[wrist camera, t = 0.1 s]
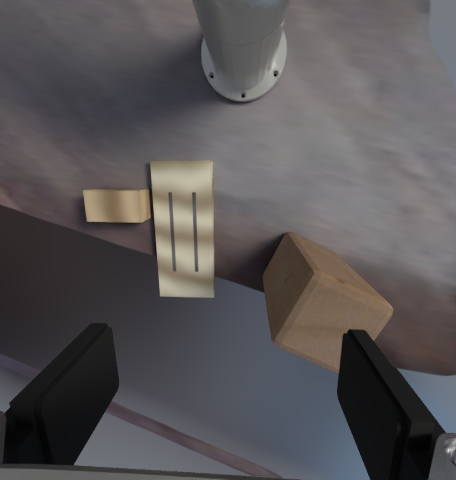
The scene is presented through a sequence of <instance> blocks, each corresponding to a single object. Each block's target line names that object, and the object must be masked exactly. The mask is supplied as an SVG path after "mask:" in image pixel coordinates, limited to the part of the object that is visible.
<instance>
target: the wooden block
mask: <svg viewBox="0 0 456 480" xmlns="http://www.w3.org/2000/svg"><path fill="white" fill-rule="evenodd" d="M263 285H264V292H265V299H266V306H267V312H268V319H269V326H270V333H271V339H272V341H273V343H274V344H276V345H277V346H278V347H280V348H282V349H285V350H287V351H289V352H291V353H293V354H296V355H298V356H300V357H302V358H304V359H307V360H309V361H311V362H313V363H315V364H318V365H320V366H322V367H324V368H327V369H329V370H331V371H333V372H335V373H338V374H339V367H340V357H341V347H342V337H343V334H344V333H347V332H348V330H349V329H360V330H365V331H366V332H367V333H368V334H369V336H370V337H371V338H372V340H373V341H374V340H375V338H376V337H377V336H378V334H379V333H380V331H381V330H382V329H383V327H384V326H385V324H386V323H387V322H388V320H389V319H390V318H391V316H392V312H393V309H392V307H391V305H390V304H389V303H388V302H387V301H386V300H385V299H384V298H383V297H382V296H380V295H379V294H378V293H377V292H376V291H375V290H374V289H373V288H372V287H371V286H370V285H369V284H368V283H366V282H365V281H364V280H363V279H362V278H361V277H360V276H359V275H358V274H357V273H356V272H355V271H354V270H352V269H351V268H350V267H349V266H348V265H347V264H346V263H345V262H344V261H343V260H342V259H341V258H340V257H338V256H337V255H336V254H335V253H334V252H332V251H330V250H328V249H326V248H324V247H322V246H319V245H317V244H315V243H313V242H311V241H309V240H307V239H305V238H303V237H301V236H298V235H296V234H294V233H291V232H287V233H286V234H285V235H284V236H283V238H282V240H281V242H280V244H279V246H278V248H277V249H276V251H275V253H274V255H273V257H272V259H271V260H270V262H269V264H268V266H267V268H266V270H265V272H264V273H263Z"/></svg>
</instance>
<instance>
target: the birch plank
mask: <svg viewBox="0 0 456 480" xmlns="http://www.w3.org/2000/svg"><path fill="white" fill-rule="evenodd" d="M150 166H151V179H152V193H153V206H154V220H155V234H156V247H157V261H158V272H159V273H158V274H159V288H160V296H164V297H165V296H166V297H202V298H214V296H215V274H214V219H213V164H212V161H150Z"/></svg>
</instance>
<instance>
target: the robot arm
mask: <svg viewBox="0 0 456 480" xmlns="http://www.w3.org/2000/svg"><path fill="white" fill-rule="evenodd" d="M192 1H193V5H194V8H195V11H196V14H197V17H198V20H199V24H200V27H201V30H202V33H203V41H202V45H201V61H202V67H203V70H204V73H205V76H206V78H207V80H208V81H209V83H210V85H211V86H212V87H213V88H214V90H215V91H216V92H217V93H219V94H220V95H221V96H223V97H225V98H227V99H229V100H232V101H236V102H249V101H253V100H256V99H258V98H261V97H262V96H264V95H265V94H267V93H268V92H269V91H270V90H271V89H272V88H273V87H274V86H275V85H276V83H277V82H278V80H279V78H280V76H281V74H282V72H283V69H284V67H285V62H286V58H287V43H286V37H285V33H284V30H283V28H284V24H285V21H286V17H287V13H288V9H289V5H290V1H291V0H192ZM274 74H276V75H277V76H276V77H274ZM211 76H214V78H212V79H211ZM242 95H245V97H244V98H242ZM118 387H119V377H118V370H117V362H116V355H115V348H114V341H113V333H112V329H111V327H108V325H107V324H106V323H91V324H90V325H89V326H88V327H87V328H86V329H85V330H84V331H83V332H82V333H81V334H80V335H79V336H78V337H77V338H75V339H74V340H73V341H72V342H71V343H70V344H69V345H68V346H67V347H66V348H65V349H64V350H63V351H62V352H61V353H60V354H59V355H58V356H57V357H56V358H55V359H54V360H53V361H52V362H51V363H50V364H49V365H48V366H47V367H46V368H45V369H44V370H43V371H42V372H41V373H39V374H38V375H37V376H36V377H35V378H34V379H33V380H32V382H30V383H29V384H28V385H27V386H26V387H25V388H24V389H23V390H22V391H21V392H20V393H19V394H18V395H17V396H16V397H15V398H14V399H13V400H12V401H11V402H10V403H9V404H10V408H9V409H8V410H7V411H6V412H5V413H3V412H2V411H0V480H299V479H284V478H271V477H256V476H242V475H226V474H210V473H195V472H178V471H162V470H146V469H128V468H110V467H92V466H75V465H74V463H75V462H76V460H77V458H78V456H79V455H80V453H81V451H82V450H83V448H84V446H85V444H86V443H87V441H88V440H89V438H90V436H91V434H92V433H93V431H94V429H95V428H96V426H97V424H98V423H99V421H100V419H101V418H102V416H103V414H104V413H105V411H106V409H107V407H108V406H109V404H110V402H111V401H112V399H113V397H114V396H115V394H116V392H117V390H118ZM337 395H338V400H339V403H340V405H341V408H342V410H343V413H344V415H345V418H346V420H347V423H348V425H349V427H350V430H351V432H352V435H353V437H354V440H355V442H356V445H357V447H358V450H359V452H360V455H361V457H362V460H363V462H364V465H365V467H366V470H367V472H368V475H369V477H370V480H456V433H446V432H445V431H444V430H443V428H442V427H441V426H440V425H439V423H438V422H437V420H436V419H435V418H434V416H433V415H432V414H431V413H430V411H429V410H428V409H427V407H426V406H425V405H424V403H423V402H422V401H421V399H420V398H419V397H418V396H417V394H416V393H415V392H414V390H413V389H412V388H411V387H410V385H409V384H408V382H407V381H406V380H405V378H404V377H403V376H402V375H401V373H400V372H399V371H398V370H397V369H396V368H395V367H393V366H392V365H391V364H390V362H389V361H388V360H387V358H386V357H385V356H384V354H383V353H382V352H381V350H380V349H379V348H378V346H377V345H376V344H375V342H374V341H373V340H372V338H371V337H370V336H369V334H368V333H367V332H366V331H365V330H360V329H349V330H348V332H347V333H344V334H343V337H342V347H341V357H340V367H339V377H338V387H337Z"/></svg>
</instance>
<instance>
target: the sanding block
mask: <svg viewBox="0 0 456 480" xmlns="http://www.w3.org/2000/svg"><path fill="white" fill-rule="evenodd" d="M83 194H84V202H85V210H86V217H87V222H135V223H142V222H144V221H146V220H148V219H150V218H152V214H151V200H150V189H105V188H99V189H90V190H83Z"/></svg>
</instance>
